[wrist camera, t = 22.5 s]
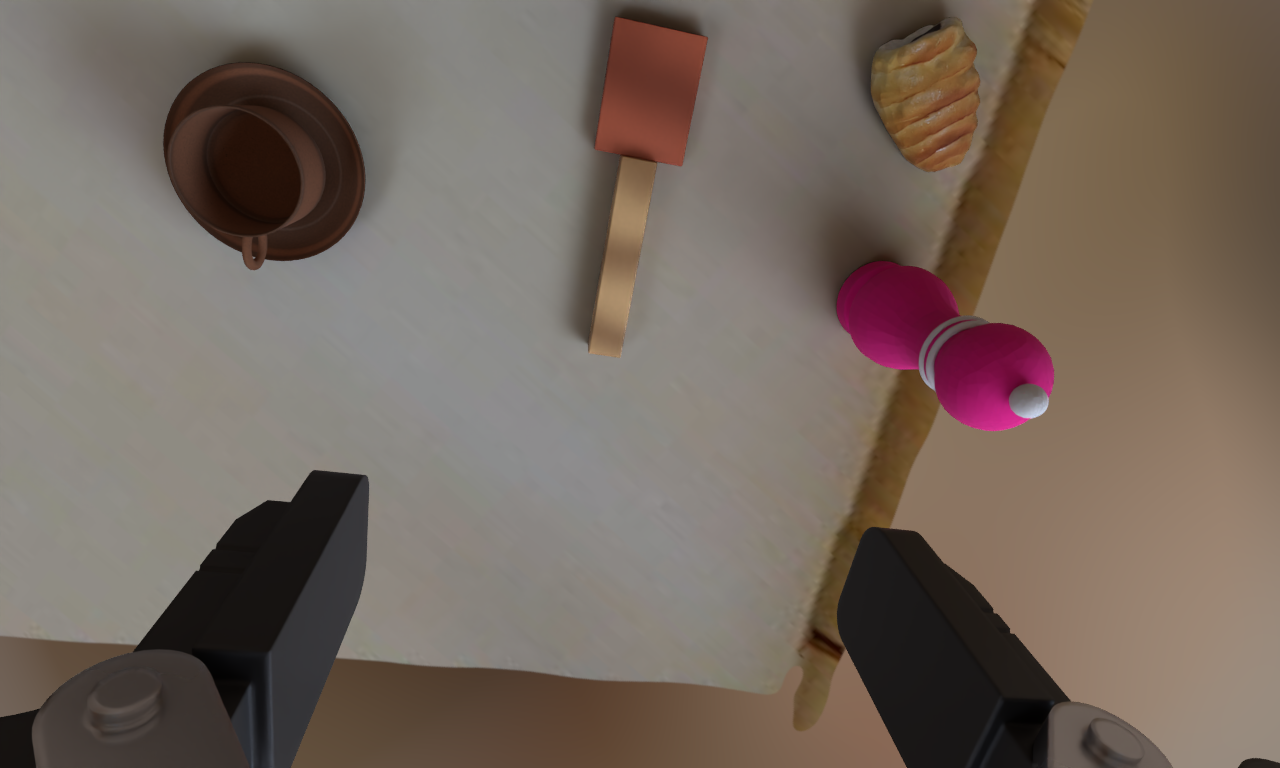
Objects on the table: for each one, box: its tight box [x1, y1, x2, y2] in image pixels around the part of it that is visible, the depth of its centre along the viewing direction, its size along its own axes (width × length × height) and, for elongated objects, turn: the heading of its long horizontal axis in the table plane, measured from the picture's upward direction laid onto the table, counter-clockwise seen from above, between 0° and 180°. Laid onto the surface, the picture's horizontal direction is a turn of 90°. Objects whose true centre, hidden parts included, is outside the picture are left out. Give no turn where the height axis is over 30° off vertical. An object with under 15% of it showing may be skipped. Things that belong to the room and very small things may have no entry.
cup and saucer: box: [163, 63, 365, 270], centre depth 42 cm, size 12×12×6 cm
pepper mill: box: [837, 261, 1054, 431], centre depth 43 cm, size 7×7×20 cm
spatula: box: [588, 17, 708, 358], centre depth 47 cm, size 22×6×2 cm, turn 169°
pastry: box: [871, 17, 980, 172], centre depth 45 cm, size 9×7×4 cm
